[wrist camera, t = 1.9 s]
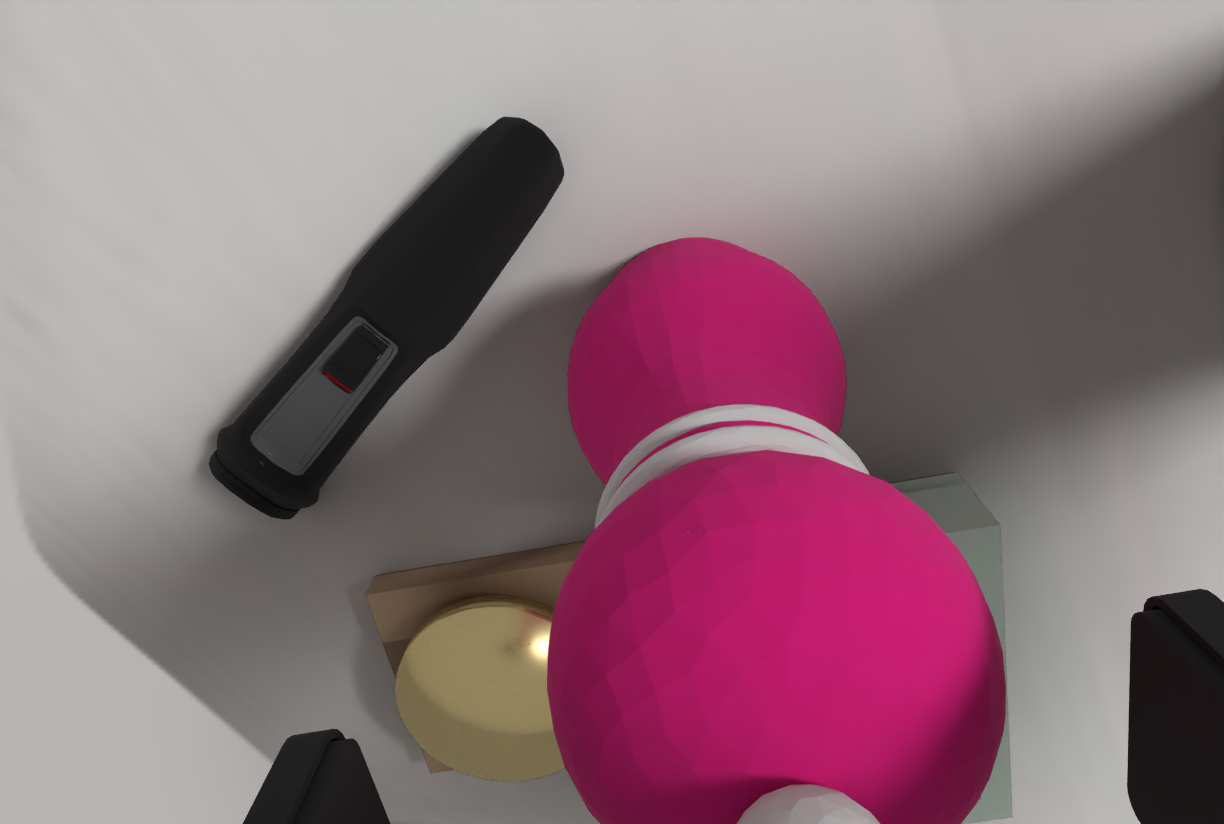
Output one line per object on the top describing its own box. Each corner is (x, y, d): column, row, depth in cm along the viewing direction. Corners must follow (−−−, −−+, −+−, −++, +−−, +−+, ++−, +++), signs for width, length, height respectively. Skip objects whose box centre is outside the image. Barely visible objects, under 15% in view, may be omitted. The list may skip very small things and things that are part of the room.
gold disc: (585, 563, 28) (582, 594, 27) (627, 729, 31) (626, 766, 29) (382, 596, 29) (367, 628, 27) (439, 756, 32) (428, 794, 30)
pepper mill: (554, 412, 27) (378, 1126, 9) (610, 192, 25) (530, 538, 6) (766, 465, 28) (1030, 1248, 9) (843, 255, 25) (1431, 755, 7)
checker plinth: (595, 538, 29) (594, 557, 28) (639, 720, 32) (639, 743, 31) (375, 575, 30) (365, 595, 29) (437, 749, 33) (430, 773, 31)
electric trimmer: (602, 174, 25) (599, 185, 22) (305, 514, 29) (268, 561, 26) (506, 82, 24) (487, 81, 21) (213, 446, 28) (164, 487, 25)
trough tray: (957, 472, 28) (1000, 524, 24) (973, 741, 32) (1012, 817, 28) (615, 529, 29) (612, 586, 26) (674, 782, 33) (678, 859, 30)
